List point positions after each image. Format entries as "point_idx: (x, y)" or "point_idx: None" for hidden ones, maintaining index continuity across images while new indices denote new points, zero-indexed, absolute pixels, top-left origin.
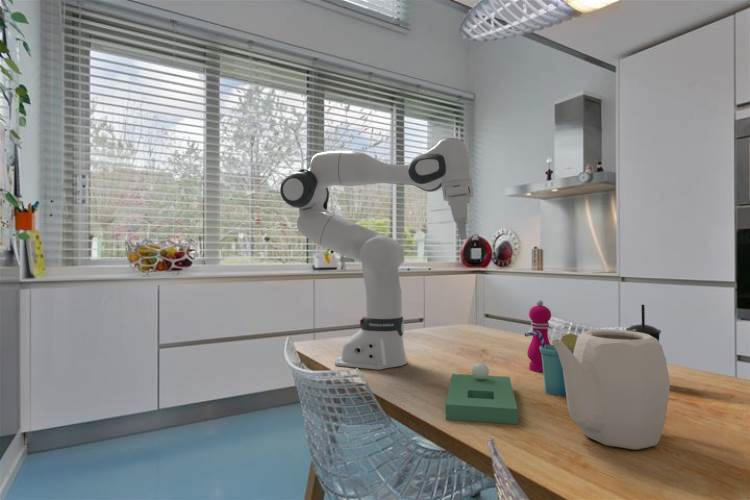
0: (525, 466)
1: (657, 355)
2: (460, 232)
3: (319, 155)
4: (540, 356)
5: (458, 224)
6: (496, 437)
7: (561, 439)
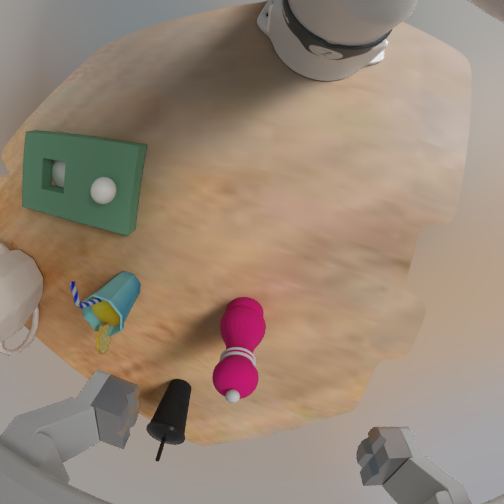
0: None
1: None
2: (77, 405)
3: None
4: (221, 320)
5: (9, 434)
6: (10, 176)
7: (15, 229)
